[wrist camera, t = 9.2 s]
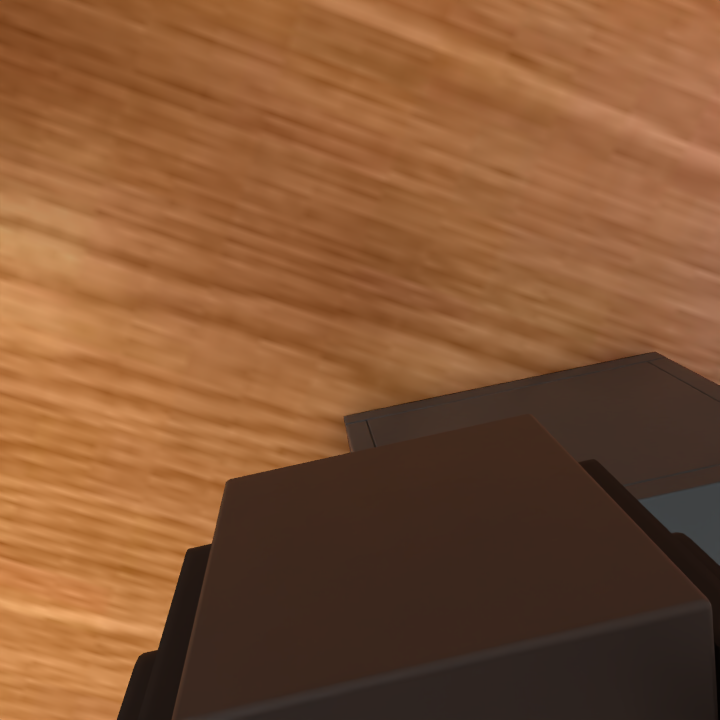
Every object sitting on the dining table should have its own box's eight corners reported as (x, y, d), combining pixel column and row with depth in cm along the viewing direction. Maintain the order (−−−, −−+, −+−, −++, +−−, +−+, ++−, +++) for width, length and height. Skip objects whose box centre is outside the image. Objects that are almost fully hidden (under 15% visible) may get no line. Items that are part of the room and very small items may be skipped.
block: (294, 727, 11) (292, 1093, 6) (223, 478, 9) (165, 729, 5) (565, 664, 11) (736, 982, 7) (531, 410, 10) (715, 601, 5)
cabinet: (667, 648, 31) (828, 852, 22) (401, 711, 31) (454, 949, 21) (655, 351, 27) (851, 453, 18) (343, 416, 26) (380, 557, 17)
